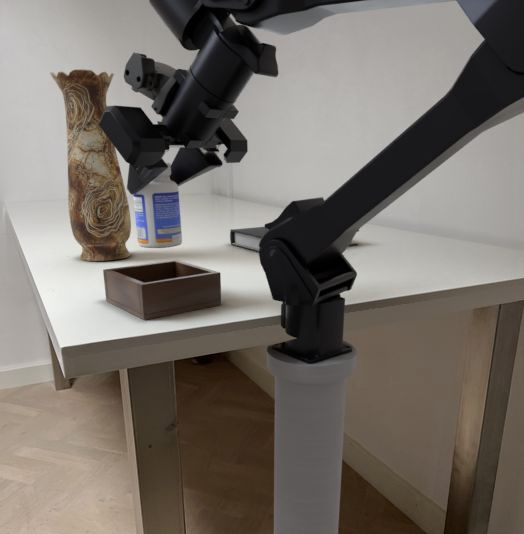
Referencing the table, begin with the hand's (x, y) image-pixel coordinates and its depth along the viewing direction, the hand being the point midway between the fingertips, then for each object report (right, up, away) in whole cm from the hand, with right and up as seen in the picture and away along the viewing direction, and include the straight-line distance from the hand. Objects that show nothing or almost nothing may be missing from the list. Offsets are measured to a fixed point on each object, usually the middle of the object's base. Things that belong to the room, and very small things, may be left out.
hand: (148, 190), depth 67 cm
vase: (-15, -3, +33) cm, 36 cm away
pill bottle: (+1, -7, +2) cm, 7 cm away
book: (+20, +2, +45) cm, 50 cm away
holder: (+1, -14, +3) cm, 14 cm away
